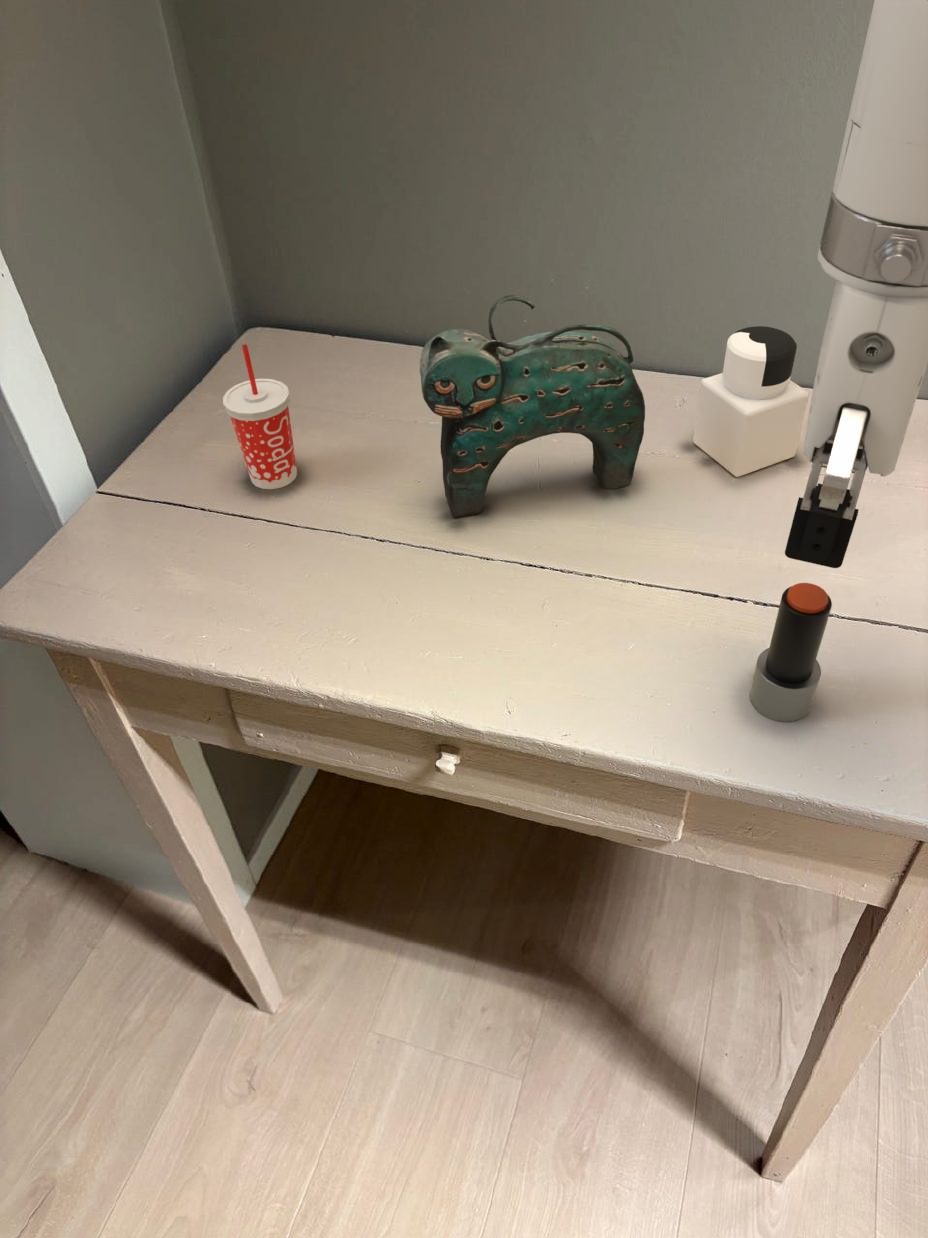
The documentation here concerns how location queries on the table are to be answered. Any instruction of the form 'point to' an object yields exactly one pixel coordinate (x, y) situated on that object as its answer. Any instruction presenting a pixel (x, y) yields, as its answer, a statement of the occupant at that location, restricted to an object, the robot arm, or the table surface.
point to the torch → (792, 655)
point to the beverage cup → (263, 428)
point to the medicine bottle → (752, 403)
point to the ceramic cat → (529, 402)
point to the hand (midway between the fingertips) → (825, 511)
